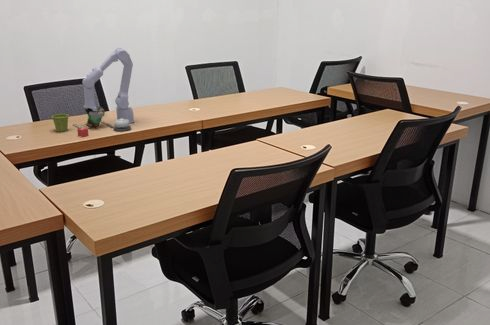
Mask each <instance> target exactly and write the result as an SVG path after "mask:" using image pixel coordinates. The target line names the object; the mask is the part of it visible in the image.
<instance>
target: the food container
mask: <svg viewBox="0 0 490 325" xmlns="http://www.w3.org/2000/svg"><path fill="white" fill-rule="evenodd" d="M104 116H105V109H104V108H103V107H102V106H98V107H97V111H92V112H91V111H90V112H89V117H88V118H87V122H86V127H88V128H94V129H95V128H98V127H99V126H100V125H101V120H103V117H104Z"/></svg>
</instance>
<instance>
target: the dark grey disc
mask: <svg viewBox="0 0 490 325" xmlns="http://www.w3.org/2000/svg"><path fill="white" fill-rule="evenodd" d="M112 130H113V132H117V133H123V132H128V131H131V130H132V126H131V125H129V126H127V127H115V126H114V127H113V128H112Z"/></svg>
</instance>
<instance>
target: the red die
mask: <svg viewBox="0 0 490 325" xmlns="http://www.w3.org/2000/svg"><path fill="white" fill-rule="evenodd" d="M76 129H77V136H78V137H81V138H85V137H88V136H90V135H89V129H88V128H87V127H82V128H79V129H78V128H76Z"/></svg>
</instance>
